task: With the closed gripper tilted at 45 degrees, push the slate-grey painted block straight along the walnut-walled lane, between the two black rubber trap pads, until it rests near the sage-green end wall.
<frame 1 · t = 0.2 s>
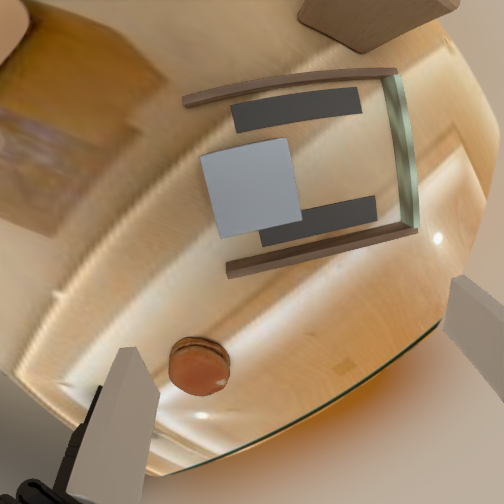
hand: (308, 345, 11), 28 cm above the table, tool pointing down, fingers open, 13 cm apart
burger: (200, 358, 45), on the table
slate block: (247, 177, 36), on the table
u-shaped frame: (311, 164, 36), on the table
wooden block: (341, 13, 29), on the table
trap pads: (311, 164, 36), on the table
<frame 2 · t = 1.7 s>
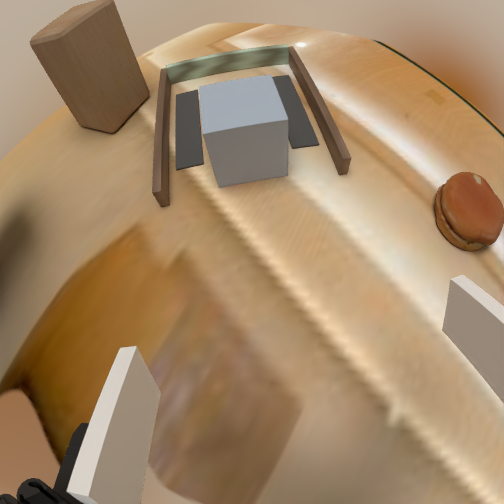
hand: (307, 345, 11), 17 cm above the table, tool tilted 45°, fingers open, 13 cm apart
burger: (462, 218, 31), on the table
slate block: (248, 156, 36), on the table
u-shaped frame: (239, 114, 39), on the table
wooden block: (114, 111, 43), on the table
trap pads: (239, 114, 39), on the table
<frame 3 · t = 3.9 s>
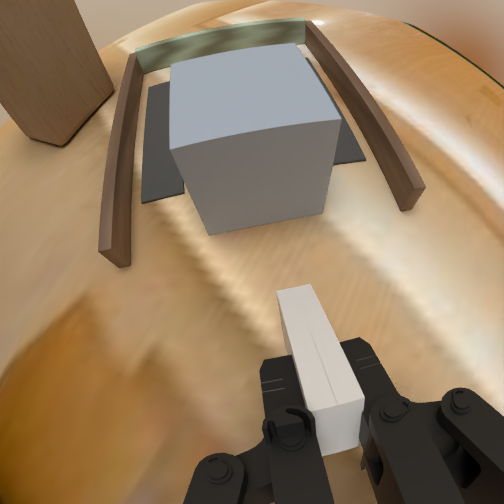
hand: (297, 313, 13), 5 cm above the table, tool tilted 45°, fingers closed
slate block: (255, 178, 23), on the table
u-shaped frame: (239, 111, 26), on the table
wooden block: (70, 115, 30), on the table
trap pads: (239, 111, 26), on the table
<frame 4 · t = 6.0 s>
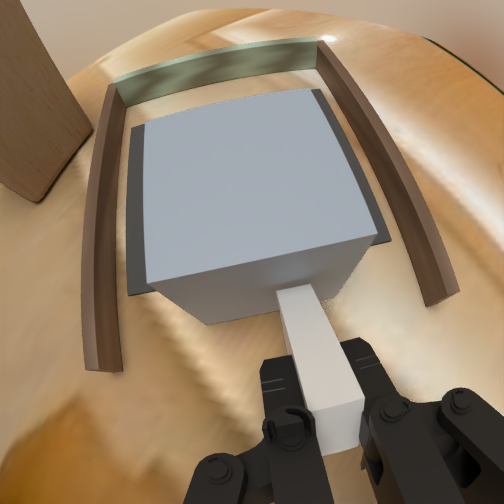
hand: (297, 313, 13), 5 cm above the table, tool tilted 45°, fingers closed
slate block: (257, 251, 20), on the table, touching gripper
u-shaped frame: (239, 169, 22), on the table
wooden block: (46, 158, 26), on the table
trap pads: (239, 169, 22), on the table
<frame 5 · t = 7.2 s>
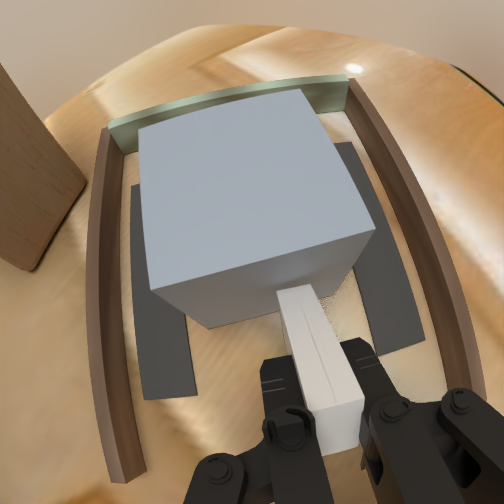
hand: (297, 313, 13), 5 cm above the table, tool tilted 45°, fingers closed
slate block: (255, 253, 20), on the table, touching gripper
u-shaped frame: (262, 255, 20), on the table
wooden block: (36, 212, 24), on the table
trap pads: (262, 255, 20), on the table
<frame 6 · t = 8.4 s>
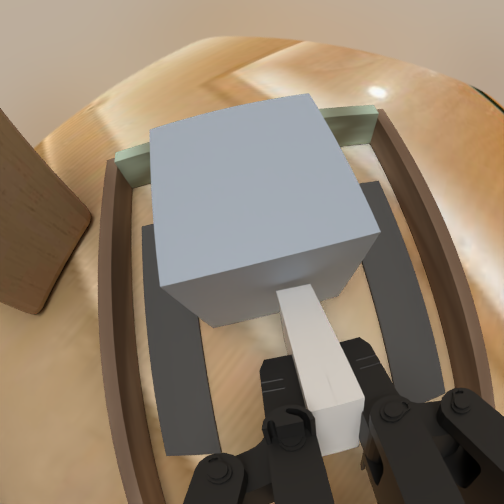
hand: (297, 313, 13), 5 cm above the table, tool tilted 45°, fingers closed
slate block: (261, 254, 20), on the table, touching gripper
u-shaped frame: (287, 312, 18), on the table
wooden block: (39, 246, 22), on the table
trap pads: (287, 312, 18), on the table
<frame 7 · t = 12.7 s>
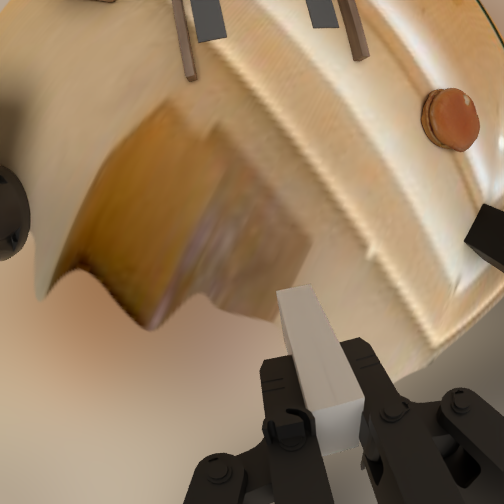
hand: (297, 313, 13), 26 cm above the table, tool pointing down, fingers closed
burger: (443, 118, 35), on the table
black piece: (482, 231, 42), on the table
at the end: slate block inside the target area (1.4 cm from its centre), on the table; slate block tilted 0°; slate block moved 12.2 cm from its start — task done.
